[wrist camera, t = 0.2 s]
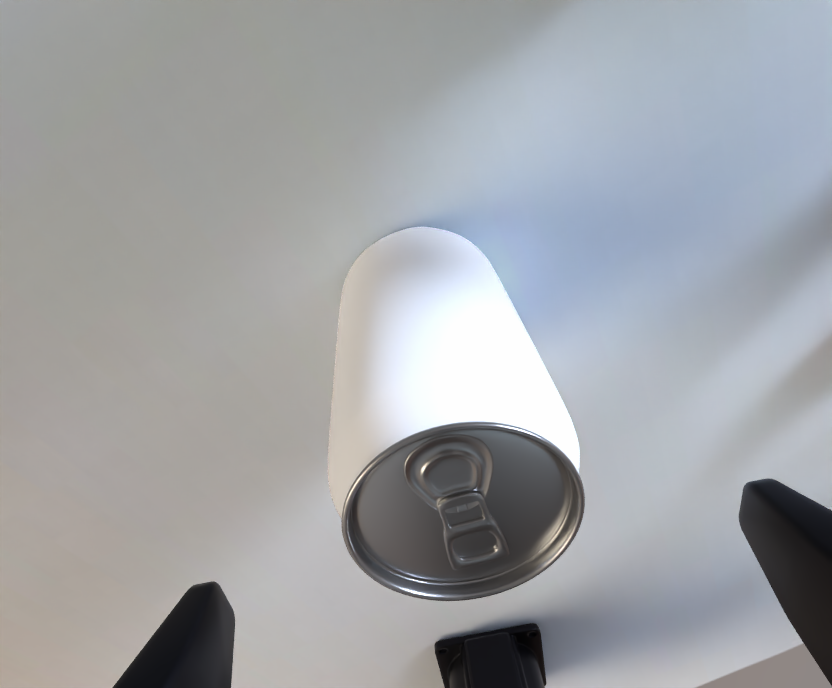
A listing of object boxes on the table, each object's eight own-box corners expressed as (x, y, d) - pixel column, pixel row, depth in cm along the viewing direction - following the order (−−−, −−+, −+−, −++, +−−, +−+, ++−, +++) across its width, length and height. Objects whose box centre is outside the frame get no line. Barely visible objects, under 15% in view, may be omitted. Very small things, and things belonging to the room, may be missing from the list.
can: (478, 201, 22) (584, 370, 11) (511, 342, 25) (618, 575, 14) (317, 251, 22) (275, 457, 12) (370, 383, 25) (374, 637, 15)
